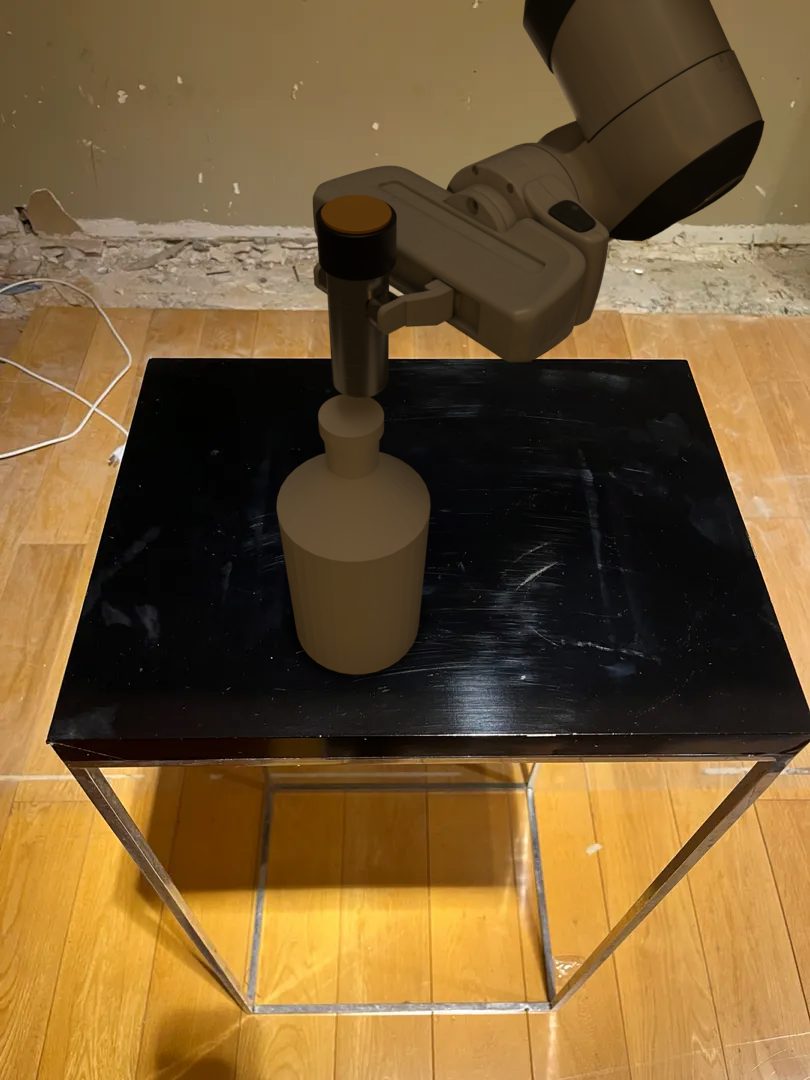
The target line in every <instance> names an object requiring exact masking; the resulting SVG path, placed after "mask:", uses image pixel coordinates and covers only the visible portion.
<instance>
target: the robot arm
mask: <svg viewBox="0 0 810 1080" xmlns="http://www.w3.org/2000/svg"><path fill="white" fill-rule="evenodd" d="M523 7H524V8H523V16H522V26H523V29H524V30H525V32H526V34H527V36H528V37H529V39H530V40H531V42H532V44H533V45H534V47H535V49H536V50H537V52H538V54H539V55H540V57H541V59H542V61H543V62H544V64H545V65H546V67H547V68H548V70H549V72H550V73H551V74H552V75H554V77H555V79H556V81H557V83H558V85H559V87H560V90H561V91H562V93H563V95H564V98H565V99H566V102H567V104H568V106H569V107H570V110H571V112H572V114H573V116H574V118H575V120H573V121H571V122H569V123H566V124H563V125H561V126H559V127H556V128H554V129H552V130H550V131H549V132H546V133H545V134H544V135H543V136H542V137H541V138H539V140H538V141H537V142H524V143H520V144H515V145H513V146H511V147H509V148H506V149H504V150H501V151H499V152H497V153H494V154H492V155H490V156H488V157H485V158H483V159H480V160H478V161H476V162H473V163H471V164H468V165H466V166H464V167H462V168H460V169H459V170H458V171H457V172H456V173H455V174H453V176H452V178H451V179H450V181H449V182H448V184H447V187H446V189H445V188H444V187H441V186H440V185H438V184H437V183H435V182H432V181H431V180H429V179H427V178H426V177H424V176H422V175H420V174H418V173H416V172H414V171H413V170H410V169H409V168H406V167H403V166H399V165H381V166H375V167H369V168H366V169H363V170H359V171H355V172H351V173H347V174H344V175H341V176H339V177H335V178H331V179H329V180H326V181H323V182H322V183H320V184H318V185H317V187H316V189H315V190H314V192H313V194H312V217H313V218H312V219H313V228H314V233H315V236H316V237H317V228H316V213H317V211H318V209H319V208H320V207H321V206H322V205H323V204H325V203H327V202H329V201H331V200H333V199H335V198H338V197H342V196H347V195H365V196H371V197H375V198H377V199H380V200H382V201H384V202H386V203H388V204H389V205H390V206H391V207H392V208H393V209H394V210H395V212H396V214H397V243H396V263H395V266H394V267H393V269H392V270H391V271H390V272H389V287H392V288H393V289H395V290H396V291H398V292H399V293H400V294H401V295H398V294H395V293H394V292H392V291H391V290H389V291H387V292H385V293H383V294H381V295H380V297H375V298H373V299H371V300H370V301H369V303H368V305H367V312H368V315H369V316H368V317H367V322H368V323H369V324H370V325H371V326H373V327H374V328H375V329H377V330H378V331H380V332H381V333H383V334H384V335H388V334H389V335H390V334H392V333H394V332H396V331H398V330H400V329H402V328H404V327H405V328H412V327H435V326H437V327H438V326H439V325H441V324H442V323H444V322H445V323H447V324H448V325H450V326H451V327H453V328H454V329H456V330H457V331H459V332H460V333H462V334H463V335H465V336H466V337H468V338H469V339H470V340H473V341H474V342H476V343H477V344H479V345H480V346H481V347H483V348H485V349H487V350H488V351H489V352H491V353H493V354H494V355H496V356H497V357H498V358H500V359H501V360H503V361H505V362H507V363H528V362H529V363H531V362H532V361H535V360H536V359H538V358H539V357H540V358H541V356H543V355H545V354H546V353H548V352H549V351H550V350H552V349H554V348H556V347H557V346H558V345H559V344H560V343H562V342H563V341H564V340H566V339H567V338H569V336H570V335H571V334H572V332H573V330H574V328H575V327H578V326H580V325H583V324H585V323H586V322H588V321H589V320H590V319H591V317H592V315H593V312H594V311H595V310H594V309H595V307H596V305H597V300H598V297H599V295H600V290H601V286H602V283H603V279H604V273H605V268H606V263H607V258H608V251H609V243H611V242H613V241H614V240H616V241H622V242H623V241H625V242H644V241H647V240H649V239H651V238H653V237H655V236H657V235H659V234H661V233H663V232H664V231H666V230H667V229H669V228H670V227H672V226H673V225H675V224H676V223H679V222H681V221H683V220H684V219H685V220H686V219H687V218H689V217H691V216H693V215H695V214H696V213H698V212H700V211H703V210H704V209H706V208H707V207H709V206H710V205H712V204H714V203H715V202H717V201H718V200H720V199H721V198H723V197H724V196H725V195H727V194H729V192H731V191H732V190H734V188H736V187H737V186H738V185H739V184H740V183H741V182H742V181H743V180H744V178H745V176H746V174H747V173H748V170H749V169H750V167H751V165H752V163H753V161H754V158H755V157H756V153H757V152H758V149H759V146H760V143H761V141H762V137H763V134H764V128H765V123H766V122H765V120H764V119H763V115H762V113H761V110H760V108H759V107H760V106H759V105H758V103H757V100H756V98H755V95H754V92H753V90H752V88H751V85H750V83H749V80H748V78H747V76H746V74H745V72H744V70H743V68H742V65H741V63H740V61H739V58H738V56H737V54H736V52H735V50H734V49H732V47H731V45H730V42H729V40H728V38H727V35H726V34H725V31H724V29H723V27H722V24H721V22H720V20H719V17H718V15H717V13H716V11H715V9H714V7H713V4H712V2H711V0H524V6H523ZM312 271H313V273H312V274H313V285H314V287H315V288H317V289H318V290H320V291H321V292H322V293H324V294H325V295H327V280H326V272H325V271H324V270H323V269H322V268H321V266H320V264H319V261H318V262H317V263H315V265H314V267H313V270H312Z"/></svg>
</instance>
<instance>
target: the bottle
mask: <svg viewBox="0 0 810 1080" xmlns="http://www.w3.org/2000/svg"><path fill="white" fill-rule="evenodd" d="M317 421H318V433H319V436H320V437H321V439H322V440H323V443H324V452H325V453H321V454H319V455H316V456H314V457H312V458H310V459H307V460H306V461H304V462H303V463H301V464H300V465H298V466H297V467H296V468H294V470H292V472H290V474H289V475H287V476H286V479H285V480H284V481H283V483H282V484H281V486H280V489H279V491H278V494H277V498H276V514H277V519H278V526H279V533H280V538H281V544H282V551H283V557H284V563H285V569H286V575H287V576H286V577H287V580H288V588H289V593H290V600H291V606H292V611H293V618H294V623H295V631H296V636H297V639H298V641H299V644H300V646H301V647H302V649H303V650H304V652H305V653H306V654H307V655H308V657H310V658H311V659H312V660H313V661H314V662H316V664H318V665H320V666H322V667H324V668H326V670H327V669H328V670H330V671H332V672H333V671H334V672H336V673H340V674H346V675H367V674H372V673H376V672H380V671H382V670H384V669H387V668H389V667H391V666H393V665H394V664H396V663H398V662H399V661H400V660H401V659H402V658H404V656H406V655H407V653H409V651H410V649H411V648H412V647H413V645H414V643H415V642H416V638H417V637H418V632H419V627H420V617H421V616H420V615H421V607H422V597H423V587H424V579H425V577H424V575H425V567H426V555H427V547H428V536H429V528H430V527H429V526H430V517H431V507H432V506H431V495H430V493H429V492H430V491H429V490H428V487H427V484H426V483H425V481H424V480H423V478H422V477H421V474H419V473H418V472H417V471H416V470H415V469H414V468H413V467H412V466H410V465H409V464H408V463H406V462H404V461H403V460H401V459H400V458H397V457H396V456H394V455H393V456H392V455H391V454H388V453H386V452H385V453H384V452H381V451H380V440H381V439H382V437H383V436H384V431H385V412H384V409H383V407H382V405H381V404H380V403H379V402H378V401H377V400H375V399H374V398H372V397H366V398H354V397H349V396H346V395H344V394H342V393H341V394H338V395H335V396H333V397H331V398H329V399H327V400H326V401H324V403H322V405H321V406H320V408H319V411H318V414H317Z"/></svg>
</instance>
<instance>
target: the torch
mask: <svg viewBox="0 0 810 1080" xmlns="http://www.w3.org/2000/svg"><path fill="white" fill-rule="evenodd" d="M316 228H317V236H316V242H317V257H318V258H317V259H318V262H319V264H320V266H321V268H322V269H323V270H324V271H325V272H326V280H327V294H326V296H327V311H328V314H327V316H328V327H329V328H328V331H329V348H330V365H331V366H330V367H331V382H332V385H333V387H334V388H335V389H336V391H338V392H339V393H340V394H341V395H342V394H344V395H346V396H349V397H354V398H366V397H370V398H372V397H375V396H377V395H378V394H380V393H382V392H383V391H384V390H385V389H386V387H387V386H388V384H389V374H390V373H389V367H390V365H389V364H390V363H389V361H390V360H389V359H390V358H389V357H390V356H389V355H390V354H389V353H390V344H389V343H390V334H388V335H384V334H383V333H381V332H380V331H378V330H377V329H375V328H374V327H373V326H371V325H370V324H369V323H368V322H367V317H368V316H369V315H368V312H367V305H368V303H369V301H370V300H371V299H373V298H375V297H380V295H381V294H383V293H385V292H387V291H390V285H389V272H390V271H391V270H392V269H393V267H394V266H395V263H396V243H397V214H396V212H395V210H394V209H393V208H392V207H391V206H390V205H389V204H388V203H386V202H384V201H382V200H380V199H377V198H375V197H371V196H365V195H347V196H342V197H338V198H335V199H333V200H331V201H329V202H327V203H325V204H323V205H322V206H321V207H320V208H319V209H318V211H317V213H316Z"/></svg>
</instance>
